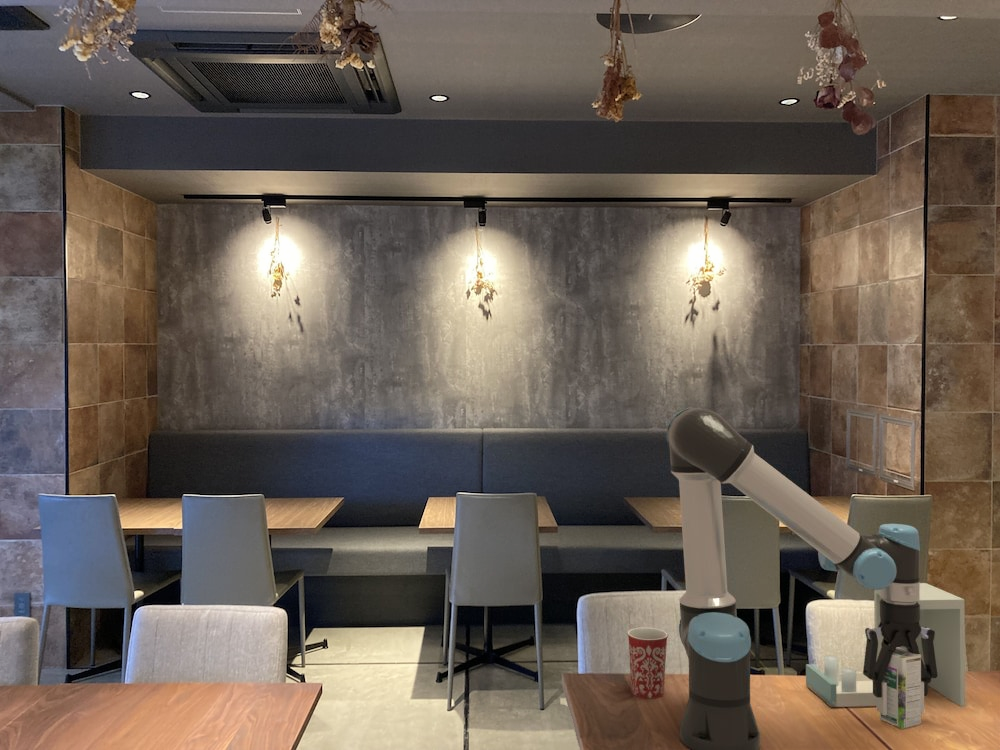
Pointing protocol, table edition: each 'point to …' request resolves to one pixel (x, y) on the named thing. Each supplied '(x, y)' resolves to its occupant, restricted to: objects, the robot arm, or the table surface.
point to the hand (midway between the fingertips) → (900, 712)
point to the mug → (647, 661)
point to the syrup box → (903, 689)
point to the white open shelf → (940, 638)
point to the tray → (840, 685)
